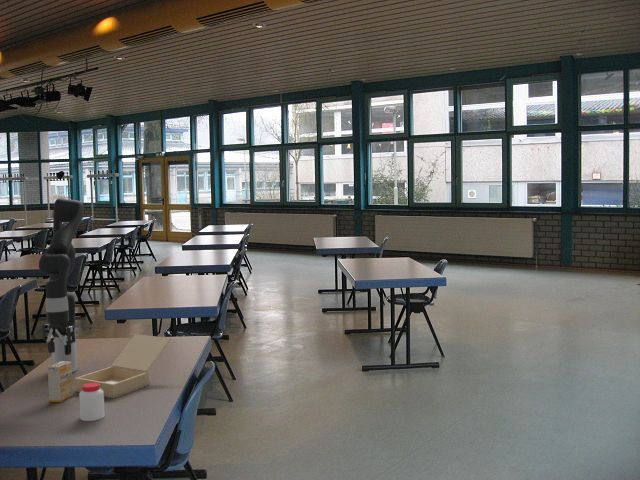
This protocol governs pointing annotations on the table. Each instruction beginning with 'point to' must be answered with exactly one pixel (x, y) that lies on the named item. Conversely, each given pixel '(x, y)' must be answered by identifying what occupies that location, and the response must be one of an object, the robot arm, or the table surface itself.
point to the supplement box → (60, 381)
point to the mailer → (114, 380)
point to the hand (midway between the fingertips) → (59, 353)
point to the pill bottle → (91, 402)
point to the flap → (141, 352)
